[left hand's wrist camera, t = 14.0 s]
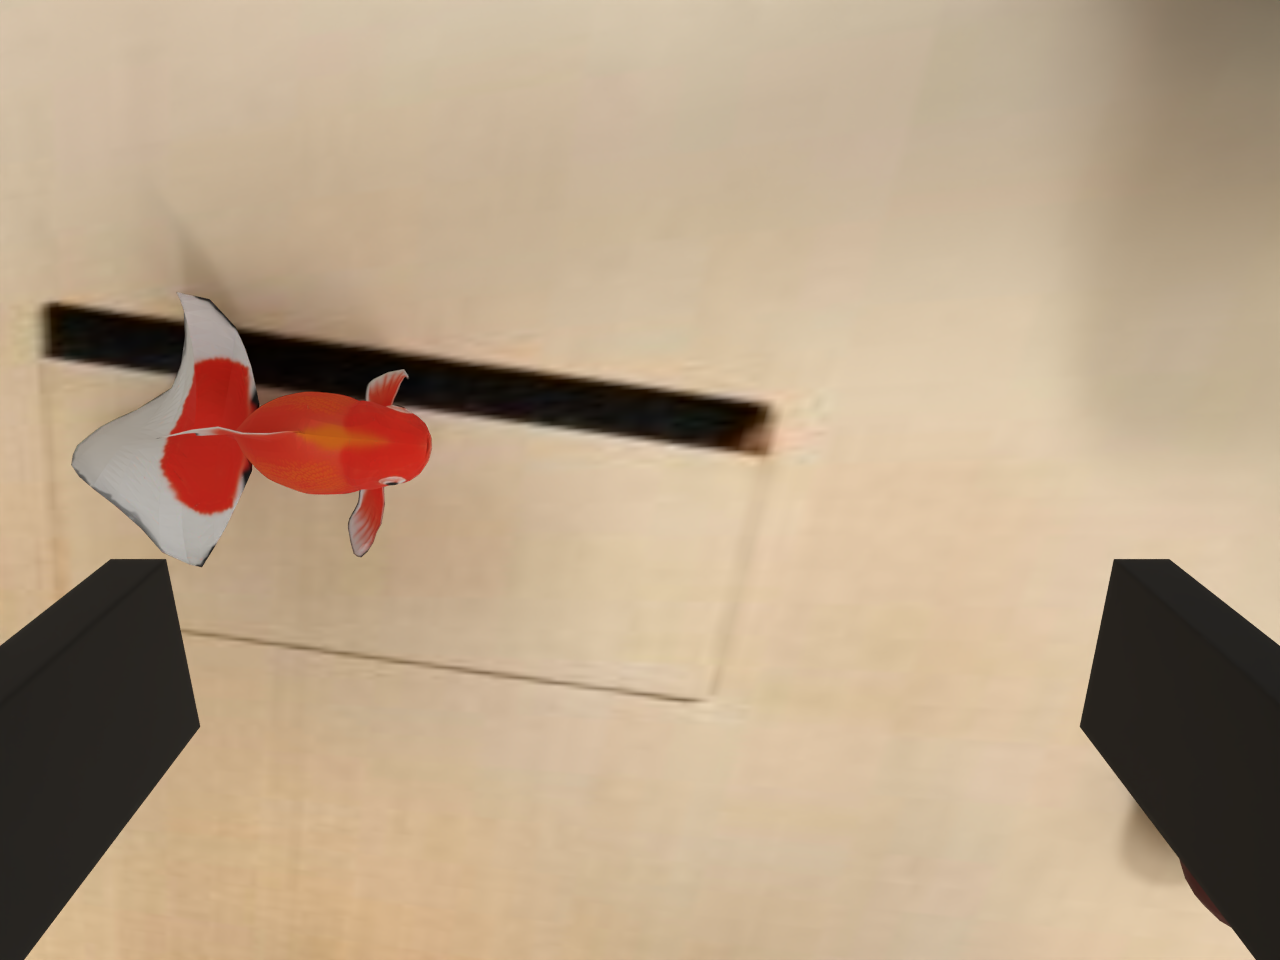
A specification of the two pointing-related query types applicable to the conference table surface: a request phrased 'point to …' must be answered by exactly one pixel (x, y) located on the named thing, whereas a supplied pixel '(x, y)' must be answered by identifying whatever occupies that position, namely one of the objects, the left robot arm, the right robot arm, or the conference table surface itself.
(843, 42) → the conference table surface
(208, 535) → the fish
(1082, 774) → the conference table surface
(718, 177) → the conference table surface
